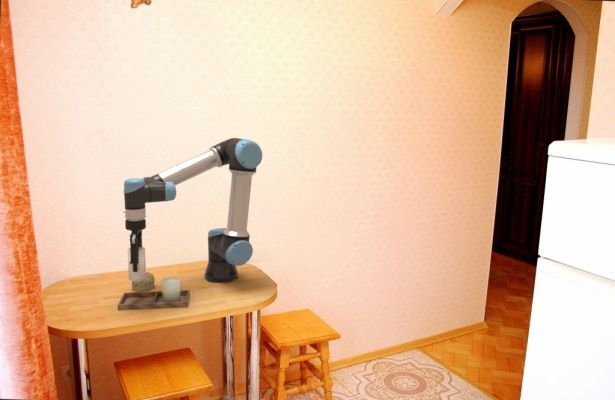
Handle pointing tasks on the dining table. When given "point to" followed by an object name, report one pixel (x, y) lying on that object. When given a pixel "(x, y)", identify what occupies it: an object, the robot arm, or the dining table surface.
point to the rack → (151, 300)
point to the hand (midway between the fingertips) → (137, 276)
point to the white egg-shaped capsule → (171, 289)
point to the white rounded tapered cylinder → (141, 264)
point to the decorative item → (144, 283)
